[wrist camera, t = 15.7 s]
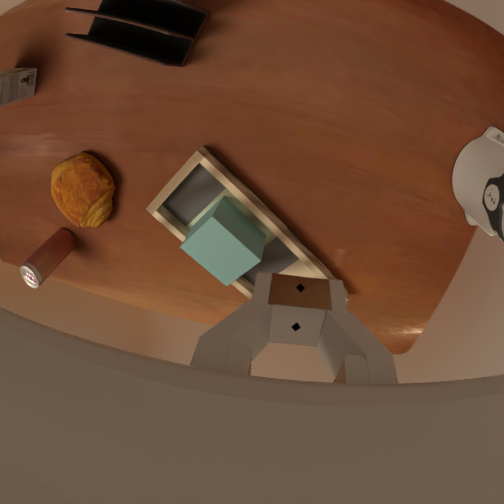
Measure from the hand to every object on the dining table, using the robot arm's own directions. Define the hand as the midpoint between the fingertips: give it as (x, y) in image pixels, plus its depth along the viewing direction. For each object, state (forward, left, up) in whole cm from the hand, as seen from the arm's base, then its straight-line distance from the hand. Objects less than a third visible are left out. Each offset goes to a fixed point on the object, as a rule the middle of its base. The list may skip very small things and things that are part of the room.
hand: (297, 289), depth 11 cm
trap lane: (+6, +22, -37) cm, 43 cm away
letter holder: (+24, -18, -37) cm, 47 cm away
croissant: (+39, +11, -37) cm, 55 cm away
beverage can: (+50, +24, -37) cm, 66 cm away
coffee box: (+54, -14, -37) cm, 67 cm away
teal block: (+11, +19, -36) cm, 42 cm away
